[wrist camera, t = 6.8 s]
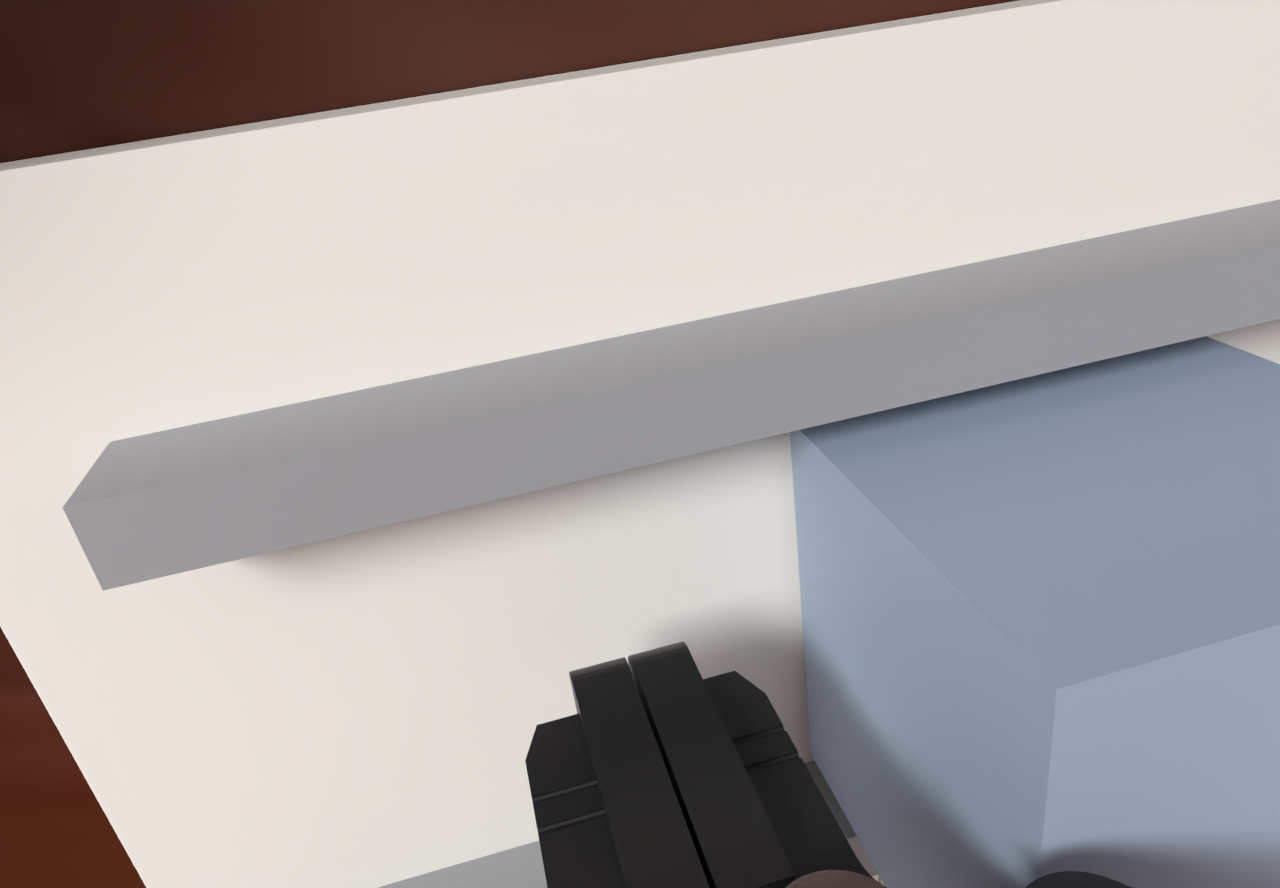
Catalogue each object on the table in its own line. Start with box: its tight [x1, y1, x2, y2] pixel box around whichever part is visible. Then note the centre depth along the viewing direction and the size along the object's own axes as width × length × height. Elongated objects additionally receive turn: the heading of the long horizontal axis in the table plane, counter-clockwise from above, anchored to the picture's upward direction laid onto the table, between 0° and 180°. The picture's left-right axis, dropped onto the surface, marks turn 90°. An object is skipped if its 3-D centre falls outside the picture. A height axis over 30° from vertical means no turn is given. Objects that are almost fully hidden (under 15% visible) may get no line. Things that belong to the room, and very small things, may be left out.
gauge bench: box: [0, 0, 1280, 888], centre depth 12 cm, size 26×15×7 cm, turn 98°
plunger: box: [790, 336, 1280, 888], centre depth 12 cm, size 11×10×6 cm
